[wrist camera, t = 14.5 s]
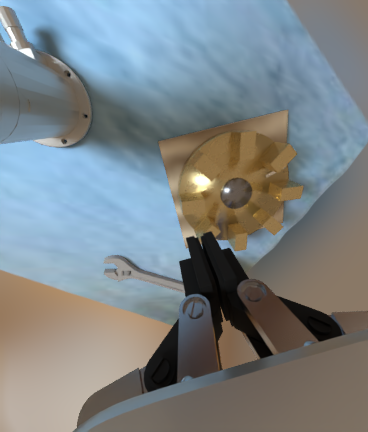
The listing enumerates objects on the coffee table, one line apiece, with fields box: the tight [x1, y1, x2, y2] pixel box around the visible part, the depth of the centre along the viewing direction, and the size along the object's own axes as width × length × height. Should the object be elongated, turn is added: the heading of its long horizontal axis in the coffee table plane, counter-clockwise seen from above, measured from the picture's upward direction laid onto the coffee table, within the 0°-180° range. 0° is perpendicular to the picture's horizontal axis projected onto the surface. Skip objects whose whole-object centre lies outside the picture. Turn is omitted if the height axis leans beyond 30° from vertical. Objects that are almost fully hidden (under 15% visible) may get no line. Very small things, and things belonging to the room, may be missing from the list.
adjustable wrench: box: [104, 255, 185, 293], centre depth 47 cm, size 25×6×2 cm, turn 56°
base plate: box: [158, 110, 288, 248], centre depth 39 cm, size 24×24×2 cm
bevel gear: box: [178, 130, 303, 251], centre depth 35 cm, size 22×22×6 cm
